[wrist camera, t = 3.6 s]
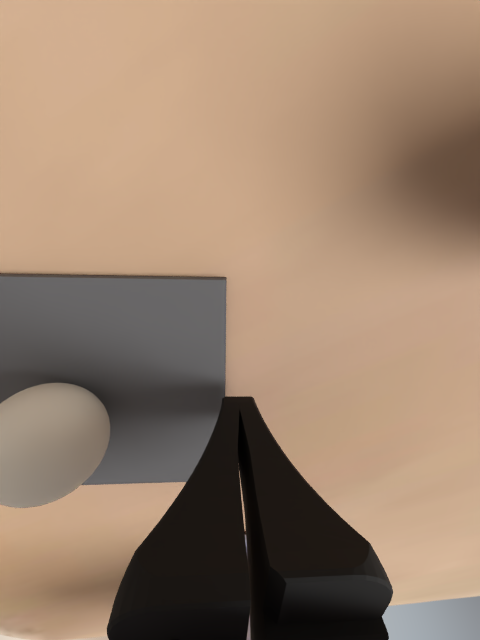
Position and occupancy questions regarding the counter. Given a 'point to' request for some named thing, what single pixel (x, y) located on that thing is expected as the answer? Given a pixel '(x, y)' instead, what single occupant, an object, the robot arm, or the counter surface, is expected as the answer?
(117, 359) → the lane
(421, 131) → the counter surface
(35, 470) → the ball
